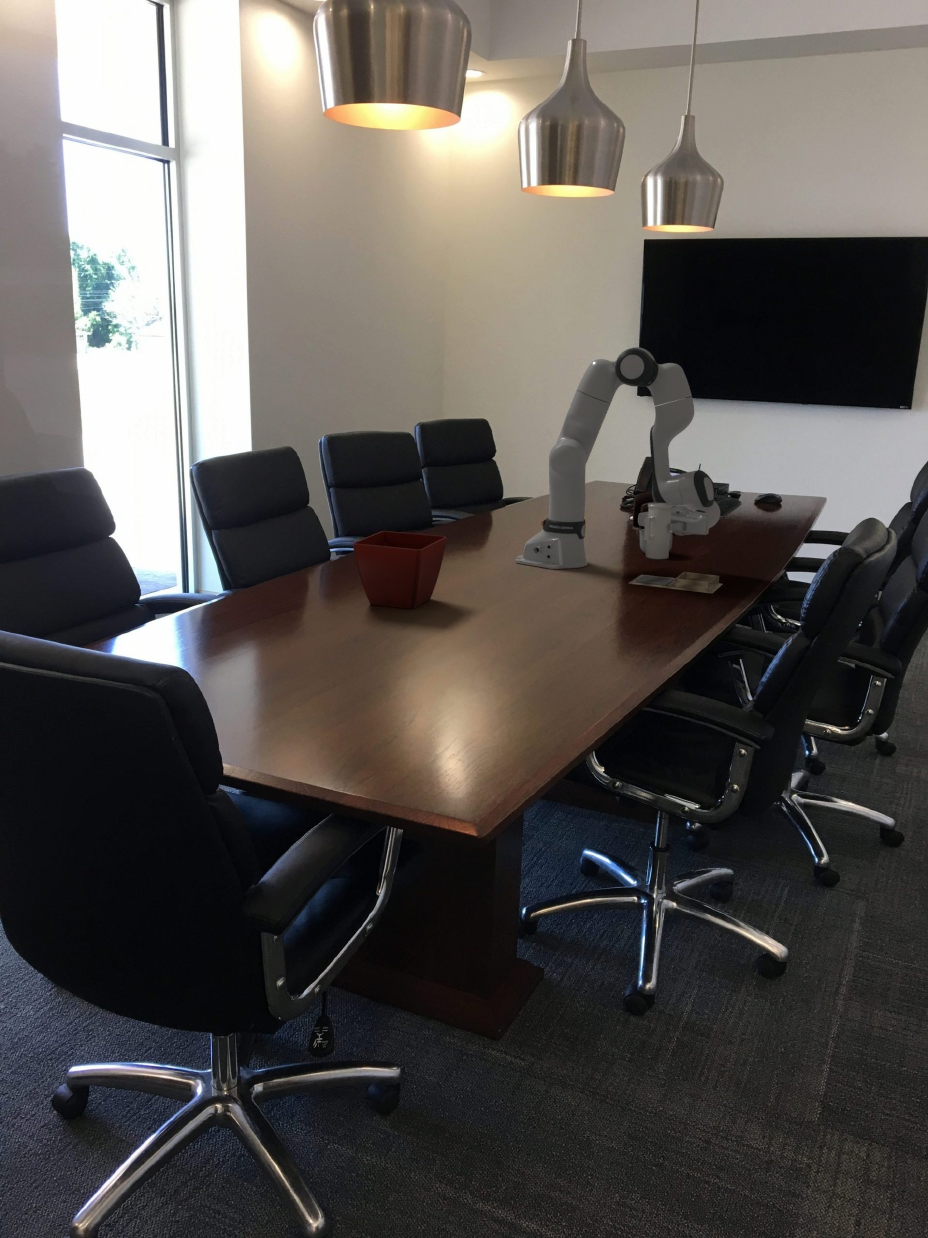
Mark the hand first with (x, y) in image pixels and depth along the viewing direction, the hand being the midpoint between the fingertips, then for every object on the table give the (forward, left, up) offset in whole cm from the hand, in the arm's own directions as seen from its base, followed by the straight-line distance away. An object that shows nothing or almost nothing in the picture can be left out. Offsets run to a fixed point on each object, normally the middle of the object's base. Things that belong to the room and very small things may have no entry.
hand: (657, 525), depth 283 cm
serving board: (+6, +1, -17) cm, 19 cm away
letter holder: (-23, +91, -18) cm, 96 cm away
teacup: (-13, +47, -18) cm, 52 cm away
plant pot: (-54, -52, -18) cm, 77 cm away
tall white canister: (0, 0, -9) cm, 9 cm away
